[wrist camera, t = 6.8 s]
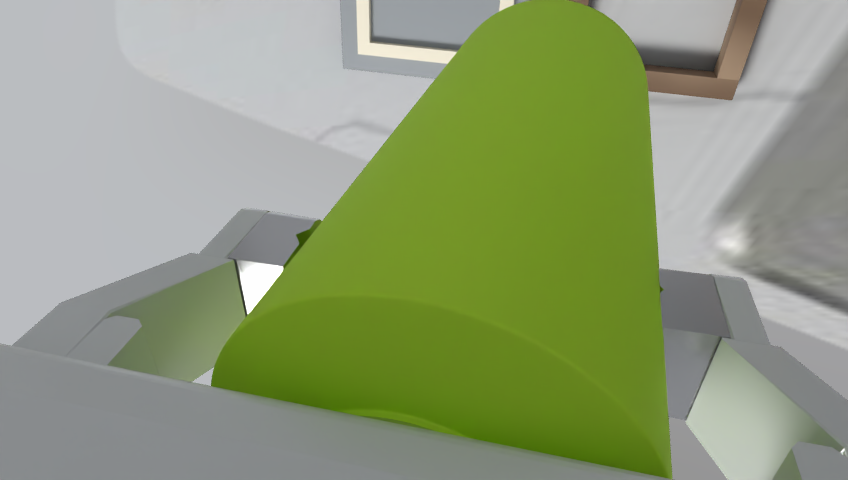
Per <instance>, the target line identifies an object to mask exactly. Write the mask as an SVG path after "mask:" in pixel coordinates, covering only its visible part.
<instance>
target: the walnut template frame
mask: <svg viewBox="0 0 848 480" xmlns="http://www.w3.org/2000/svg"><path fill="white" fill-rule="evenodd" d="M569 1H573V2H577V3H581V4H584V5H586V6H588V3H589V0H569ZM766 3H767V0H737V1H736V4H735V7H734V10H733V13H732V16H731V19H730V22H729V25H728V28H727V32H726V35H725V38H724V41H723V44H722V47H721V50H720V53H719V56H718V59H717V62H716V66H715V69H714V72H713V71H703V70H693V69H683V68H674V67H664V66H654V65H644V64H643V65H644V68H645V72H646V76H647V83H648V91H652V92H661V93H670V94H679V95H688V96H697V97H706V98H716V99H725V100H732V99H733V96H734V94H735V91H736V88H737V85H738V82H739V79H740V77H741V74H742V71H743V68H744V65H745V62H746V60H747V57H748V54H749V51H750V48H751V45H752V43H753V40H754V37H755V34H756V31H757V28H758V26H759V23H760V20H761V17H762V14H763V11H764V9H765V6H766Z"/></svg>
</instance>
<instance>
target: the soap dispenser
mask: <svg viewBox="0 0 848 480" xmlns="http://www.w3.org/2000/svg"><path fill="white" fill-rule="evenodd" d="M211 386H213V387H218V388H223V389H228V390H233V391H238V392H243V393H248V394H253V395H258V396H263V397H267V398H272V399H277V400H282V401H287V402H292V403H297V404H302V405H307V406H312V407H317V408H322V409H327V410H332V411H337V412H342V413H347V414H352V415H357V416H362V417H367V418H372V419H377V420H382V421H387V422H392V423H397V424H402V425H407V426H412V427H417V428H422V429H427V430H432V431H437V432H442V433H447V434H452V435H457V436H462V437H467V438H472V439H477V440H482V441H487V442H492V443H496V444H501V445H506V446H511V447H516V448H521V449H526V450H531V451H536V452H541V453H546V454H551V455H555V456H560V457H565V458H570V459H575V460H580V461H585V462H590V463H595V464H600V465H605V466H609V467H614V468H619V469H624V470H629V471H634V472H639V473H644V474H649V475H654V476H659V477H664V478H668V479H672V466H671V450H670V435H669V418H668V401H667V385H666V369H665V353H664V337H663V329H662V316H661V299H660V283H659V258H658V242H657V226H656V210H655V194H654V178H653V162H652V146H651V130H650V114H649V98H648V83H647V76H646V72H645V68H644V65H643V62H642V59H641V57H640V54H639V52H638V50H637V49H636V47H635V45H634V44H633V42H632V41H631V39H630V38H629V36H628V35H627V34H626V33H625V32H624V31H623V29H622V28H621V27H620V26H618V25H617V24H616V23H615V22H614V21H613V20H611V19H610V18H609V17H607V16H606V15H604V14H603V13H601V12H599V11H597V10H595V9H593V8H591V7H589V6H586V5H584V4H581V3H577V2H573V1H569V0H530V1H525V2H522V3H518V4H515V5H512V6H510V7H507V8H505V9H503V10H501V11H499V12H498V13H496V14H494V15H493V16H491V17H490V18H488V19H487V20H486V21H484V22H483V23H482V24H481V25H480V26H479V27H478V28H477V29H476V30H475V31H474V32H473V33H472V34H471V35H470V36H469V38H468V39H467V40H466V41H465V43H464V44H463V45H462V46H461V48H460V49H459V50H458V51H457V53H456V54H455V55H454V56H453V58H452V59H451V60H450V61H449V63H448V64H447V65H446V66H445V68H444V69H443V70H442V71H441V73H440V74H439V75H438V76H437V78H436V79H435V80H434V82H433V83H432V84H431V85H430V87H429V88H428V89H427V90H426V92H425V93H424V94H423V95H422V97H421V98H420V99H419V100H418V102H417V103H416V104H415V105H414V107H413V108H412V109H411V110H410V112H409V113H408V114H407V115H406V117H405V118H404V119H403V120H402V122H401V123H400V124H399V125H398V127H397V128H396V129H395V130H394V132H393V133H392V134H391V135H390V137H389V138H388V139H387V141H386V142H385V143H384V144H383V146H382V147H381V148H380V149H379V151H378V152H377V153H376V154H375V156H374V157H373V158H372V159H371V161H370V162H369V163H368V164H367V166H366V167H365V168H364V169H363V171H362V172H361V173H360V174H359V176H358V177H357V178H356V179H355V181H354V182H353V183H352V184H351V186H350V187H349V188H348V190H347V191H346V192H345V193H344V195H343V196H342V197H341V198H340V200H339V201H338V202H337V203H336V205H335V206H334V207H333V208H332V210H331V211H330V212H329V213H328V215H327V216H326V217H325V218H324V220H323V221H322V222H321V223H320V225H319V226H318V227H317V228H316V230H315V231H314V232H313V233H312V235H311V236H310V237H309V238H308V240H307V241H306V242H305V243H304V245H303V246H302V247H301V248H300V250H299V251H298V252H297V253H296V255H295V256H294V257H293V258H292V260H291V261H290V262H289V264H288V265H287V266H286V267H285V269H284V270H283V271H282V272H281V274H280V275H279V276H278V277H277V279H276V280H275V281H274V282H273V284H272V285H271V286H270V287H269V289H268V290H267V291H266V292H265V294H264V295H263V296H262V297H261V299H260V300H259V301H258V302H257V304H256V305H255V306H254V307H253V309H252V310H251V311H250V312H249V314H248V315H247V316H246V317H245V319H244V320H243V321H242V323H241V324H240V325H239V326H238V328H237V329H236V330H235V331H234V333H233V334H232V335H231V336H230V338H229V339H228V340H227V342H226V343H225V345H224V347H223V348H222V350H221V352H220V354H219V356H218V358H217V361H216V363H215V367H214V370H213V375H212V381H211Z"/></svg>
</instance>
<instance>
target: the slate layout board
mask: <svg viewBox="0 0 848 480" xmlns="http://www.w3.org/2000/svg"><path fill="white" fill-rule="evenodd" d="M525 1H530V0H340V10H341V33H342V55H343V69H352V70H361V71H369V72H378V73H387V74H396V75H405V76H414V77H422V78H431V79H436V78H437V76H438V75H439V74H440V73H441V71H442V70H443V69H444V68H445V66H446V65H447V64H448V63H449V61H450V60H451V59H452V58H453V56H454V55H455V54H456V53H457V51H458V50H459V49H460V48H461V46H462V45H463V44H464V43H465V41H466V40H467V39H468V38H469V36H470V35H471V34H472V33H473V32H474V31H475V30H476V29H477V28H478V27H479V26H480V25H481V24H482V23H483V22H484V21H486V20H487V19H488V18H490V17H491V16H493V15H494V14H496V13H498V12H499V11H501V10H503V9H505V8H507V7H510V6H512V5H515V4H518V3H522V2H525Z"/></svg>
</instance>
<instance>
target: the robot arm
mask: <svg viewBox="0 0 848 480" xmlns="http://www.w3.org/2000/svg"><path fill="white" fill-rule="evenodd" d="M321 222H322V221H321V220H320V219H315V218H309V217H303V216H297V215H290V214H285V213H279V212H270V211H267V210H259V209H252V208H244V209H241V210H240V211H239V212H238V213H237V214H236V215H235V216H234V217H233V218H232V219H231V220H230V221H229V222H228V223H227V224H226V225H225V227H224V228H223V229H222V230H221V231H220V232H219V233H218V234H217V235H216V236H215V237H214V238H213V239H212V240H211V241H210V242H209V243H208V245H207V246H206V247H205V248H204V249H203V250H202V251H201V252H200V253H199V254H195V253H189V254H187V255H184V256H181V257H179V258H176V259H174V260H171V261H168V262H166V263H163V264H161V265H158V266H155V267H153V268H150V269H148V270H145V271H142V272H140V273H137V274H134V275H132V276H130V277H127V278H124V279H121V280H119V281H116V282H114V283H111V284H109V285H106V286H103V287H101V288H98V289H95V290H93V291H90V292H88V293H85V294H82V295H80V296H77V297H74V298H72V299H69V300H67V301H64V302H61V303H60V304H59V305H58V306H56V307H55V308H54V309H53V310H52V311H51V312H50V313H48V314H47V315H46V316H45V317H44V318H43V319H42V320H41V321H39V322H38V323H37V324H36V325H35V326H34V327H32V328H31V329H30V330H29V331H28V332H27V333H26V334H25V335H23V336H22V337H21V338H20V339H19V340H18V341H17V342H15V343H14V344H13V345H12V346H10V345H5V344H0V480H673V479H668V478H664V477H659V476H654V475H649V474H644V473H639V472H634V471H629V470H624V469H619V468H614V467H609V466H605V465H600V464H595V463H590V462H585V461H580V460H575V459H570V458H565V457H560V456H555V455H551V454H546V453H541V452H536V451H531V450H526V449H521V448H516V447H511V446H506V445H501V444H496V443H492V442H487V441H482V440H477V439H472V438H467V437H462V436H457V435H452V434H447V433H442V432H437V431H432V430H427V429H422V428H417V427H412V426H407V425H402V424H397V423H392V422H387V421H382V420H377V419H372V418H367V417H362V416H357V415H352V414H347V413H342V412H337V411H332V410H327V409H322V408H317V407H312V406H307V405H302V404H297V403H292V402H287V401H282V400H277V399H272V398H267V397H263V396H258V395H253V394H248V393H243V392H238V391H233V390H228V389H223V388H218V387H213V386H208V385H203V384H198V383H193V382H192V381H194V380H195V379H197V378H198V377H199V376H201V375H203V374H204V373H206V372H207V371H209V370H210V369H212V368H213V367H215V363H216V361H217V358H218V356H219V354H220V352H221V350H222V348H223V347H224V345H225V343H226V342H227V340H228V339H229V338H230V336H231V335H232V334H233V333H234V331H235V330H236V329H237V328H238V326H239V325H240V324H241V323H242V321H243V320H244V319H245V317H246V316H247V315H248V314H249V312H250V311H251V310H252V309H253V307H254V306H255V305H256V304H257V302H258V301H259V300H260V299H261V297H262V296H263V295H264V294H265V292H266V291H267V290H268V289H269V287H270V286H271V285H272V284H273V282H274V281H275V280H276V279H277V277H278V276H279V275H280V274H281V272H282V271H283V270H284V269H285V267H286V266H287V265H288V264H289V262H290V261H291V260H292V258H293V257H294V256H295V255H296V253H297V252H298V251H299V250H300V248H301V247H302V246H303V245H304V243H305V242H306V241H307V240H308V238H309V237H310V236H311V235H312V233H313V232H314V231H315V230H316V228H317V227H318V226H319V225H320V223H321ZM659 283H660V299H661V316H662V329H663V337H664V353H665V369H666V385H667V401H668V417H672V418H677V419H682V420H686V424H687V425H688V427H689V428H690V429H691V431H692V432H693V433H694V435H695V436H696V437H697V439H698V440H699V441H700V443H701V444H702V445H703V447H704V448H705V449H706V451H707V452H708V453H709V455H710V456H711V457H712V459H713V460H714V461H715V463H716V464H717V465H718V467H719V468H720V470H721V471H722V472H723V474H724V475H725V476H726V477H727V479H728V480H848V400H847V399H845V398H844V397H843V396H842V395H840V394H839V393H838V392H836V391H835V390H834V389H833V388H831V387H830V386H829V385H828V384H826V383H825V382H824V381H823V380H822V379H820V378H819V377H818V376H816V375H815V374H814V373H813V372H811V371H810V370H809V369H807V368H806V367H805V366H804V365H803V364H801V363H800V362H799V361H797V360H796V359H795V358H794V357H792V356H791V355H790V354H789V353H788V352H786V351H785V350H784V349H783V348H781V347H778V346H772V345H770V342H769V340H768V337H767V334H766V332H765V329H764V326H763V324H762V322H761V319H760V316H759V313H758V311H757V308H756V305H755V303H754V300H753V298H752V295H751V292H750V290H749V287H748V284H747V282H746V281H745V280H744V279H743V278H740V277H731V276H722V275H713V274H709V275H708V274H700V273H692V272H684V271H676V270H669V269H661V268H659Z"/></svg>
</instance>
